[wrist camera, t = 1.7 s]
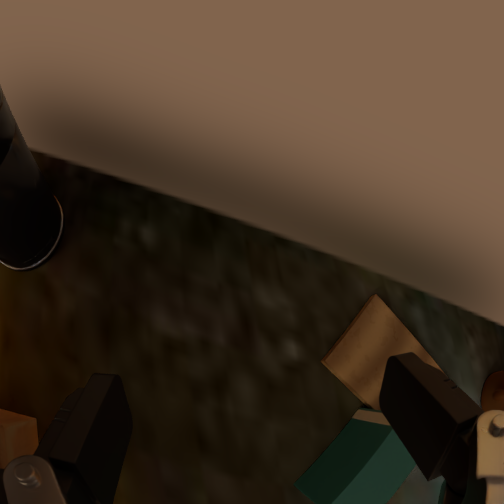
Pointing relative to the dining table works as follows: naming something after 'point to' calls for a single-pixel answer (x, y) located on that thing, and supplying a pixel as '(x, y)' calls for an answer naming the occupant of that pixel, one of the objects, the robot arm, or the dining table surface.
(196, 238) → the dining table surface
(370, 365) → the cork mat
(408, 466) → the carton
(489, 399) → the mug
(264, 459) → the dining table surface
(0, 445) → the bread
